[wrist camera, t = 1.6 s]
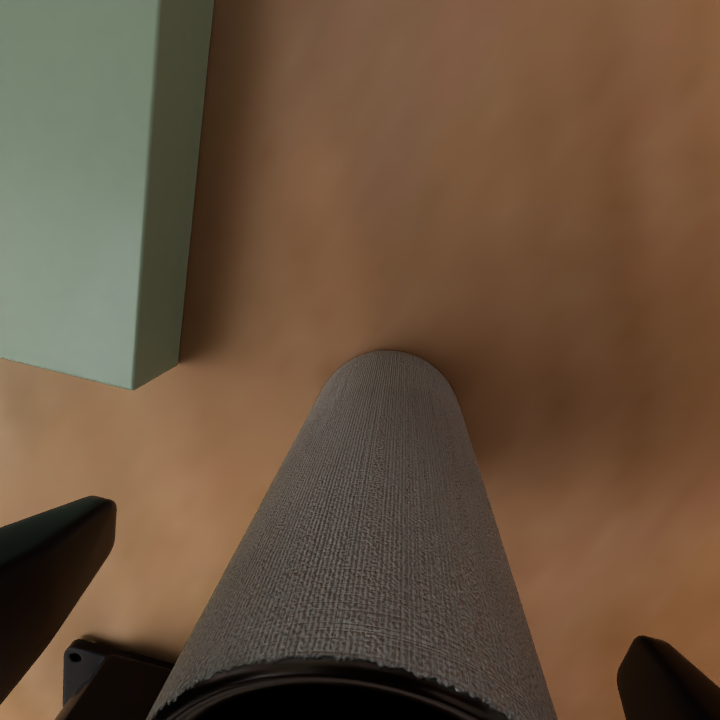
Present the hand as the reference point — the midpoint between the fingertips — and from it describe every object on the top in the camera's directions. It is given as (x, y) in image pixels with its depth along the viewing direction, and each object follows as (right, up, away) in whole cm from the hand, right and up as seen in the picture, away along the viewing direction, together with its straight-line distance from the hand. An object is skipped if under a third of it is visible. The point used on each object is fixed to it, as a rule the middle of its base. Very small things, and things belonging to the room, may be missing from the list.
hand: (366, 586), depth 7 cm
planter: (+1, +2, +7) cm, 7 cm away
